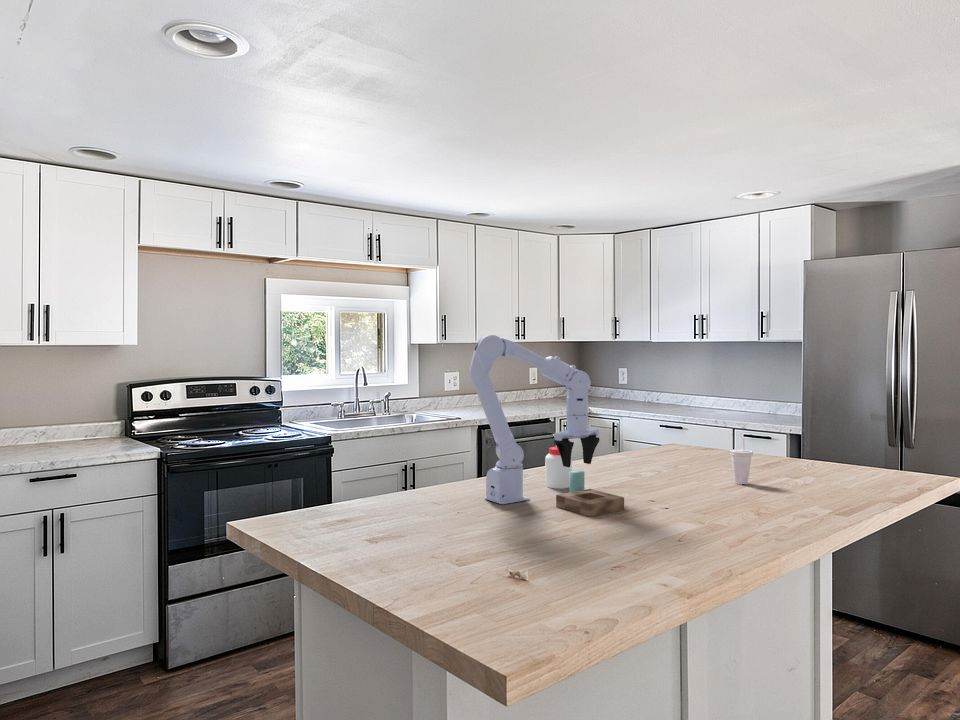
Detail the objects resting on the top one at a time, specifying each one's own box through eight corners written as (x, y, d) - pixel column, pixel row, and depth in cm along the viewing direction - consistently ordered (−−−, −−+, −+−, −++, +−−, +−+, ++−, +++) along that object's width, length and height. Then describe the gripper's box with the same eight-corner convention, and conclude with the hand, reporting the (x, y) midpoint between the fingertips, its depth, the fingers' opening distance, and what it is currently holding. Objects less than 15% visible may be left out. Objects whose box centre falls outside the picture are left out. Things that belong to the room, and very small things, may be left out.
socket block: (589, 516, 161) (589, 504, 161) (556, 506, 171) (556, 494, 171) (624, 509, 168) (624, 497, 168) (590, 500, 178) (590, 488, 178)
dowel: (576, 500, 178) (576, 473, 177) (566, 497, 181) (566, 471, 181) (587, 498, 180) (587, 472, 180) (577, 495, 183) (577, 469, 183)
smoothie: (756, 485, 195) (756, 437, 195) (733, 485, 195) (734, 437, 195) (747, 481, 201) (748, 434, 201) (726, 481, 201) (726, 434, 201)
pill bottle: (563, 489, 190) (563, 451, 190) (540, 486, 195) (540, 448, 194) (576, 485, 196) (576, 447, 196) (553, 481, 201) (553, 445, 200)
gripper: (567, 417, 172) (567, 470, 173) (607, 414, 181) (607, 464, 181) (549, 415, 178) (549, 466, 178) (588, 411, 186) (588, 460, 187)
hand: (577, 465), depth 180 cm, fingers open, 7 cm apart
